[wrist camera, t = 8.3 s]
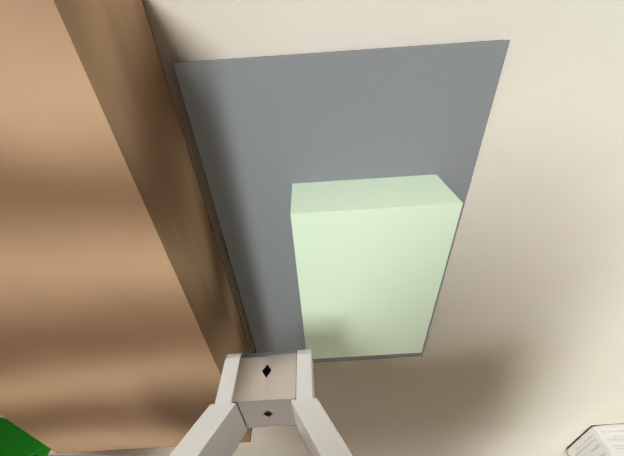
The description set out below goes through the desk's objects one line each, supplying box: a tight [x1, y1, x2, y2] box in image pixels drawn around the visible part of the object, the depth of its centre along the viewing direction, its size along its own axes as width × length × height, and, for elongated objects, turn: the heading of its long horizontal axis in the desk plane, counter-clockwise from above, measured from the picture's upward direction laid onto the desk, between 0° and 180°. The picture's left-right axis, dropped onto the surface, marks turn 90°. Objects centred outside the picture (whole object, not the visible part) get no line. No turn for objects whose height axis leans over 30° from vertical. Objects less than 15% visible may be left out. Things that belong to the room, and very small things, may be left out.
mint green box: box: [290, 174, 463, 359], centre depth 14 cm, size 9×6×2 cm, turn 3°
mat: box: [173, 40, 510, 363], centre depth 15 cm, size 18×11×1 cm, turn 3°
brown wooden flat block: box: [0, 0, 252, 453], centre depth 13 cm, size 22×12×4 cm, turn 3°
